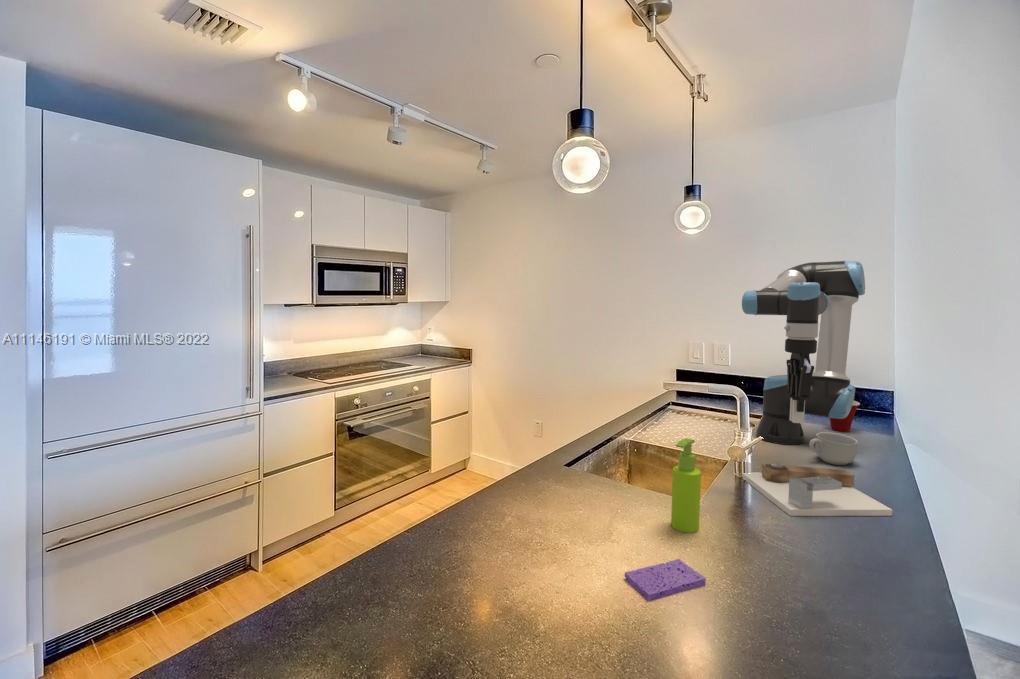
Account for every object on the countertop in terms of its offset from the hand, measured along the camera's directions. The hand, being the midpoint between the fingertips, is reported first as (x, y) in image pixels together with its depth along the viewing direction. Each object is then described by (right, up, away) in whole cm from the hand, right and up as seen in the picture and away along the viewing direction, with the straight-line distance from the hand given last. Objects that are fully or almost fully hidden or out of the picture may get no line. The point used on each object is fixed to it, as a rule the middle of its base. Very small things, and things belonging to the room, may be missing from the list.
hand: (796, 421), depth 132 cm
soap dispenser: (-42, -19, -27) cm, 53 cm away
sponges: (-53, -22, -47) cm, 74 cm away
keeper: (-7, -18, -19) cm, 27 cm away
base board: (-3, -17, -10) cm, 20 cm away
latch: (0, -15, -5) cm, 16 cm away
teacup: (+19, -15, +15) cm, 29 cm away
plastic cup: (+48, -12, +50) cm, 70 cm away
